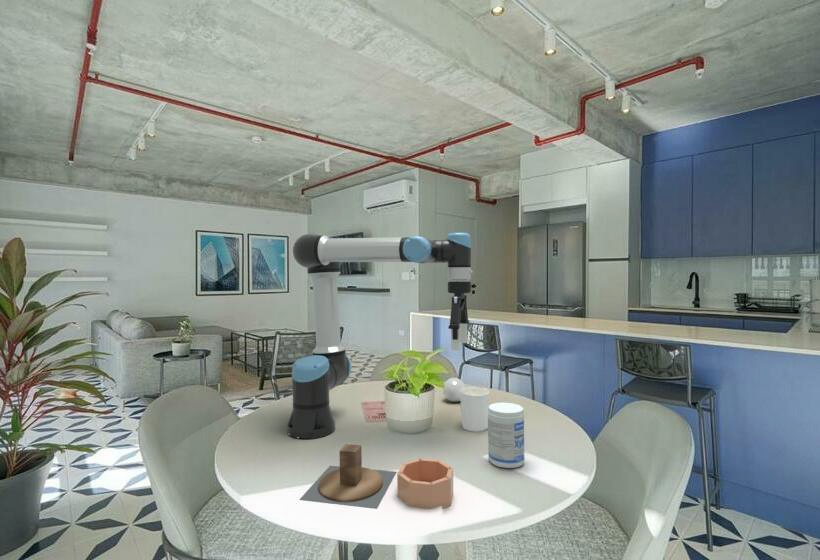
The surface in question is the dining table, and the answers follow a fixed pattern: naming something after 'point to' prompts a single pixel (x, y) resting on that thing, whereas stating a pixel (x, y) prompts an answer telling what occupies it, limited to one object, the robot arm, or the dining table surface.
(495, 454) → the supplement tub
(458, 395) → the potion bottle
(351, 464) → the lid
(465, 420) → the candle holder
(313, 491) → the mat
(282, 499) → the dining table surface
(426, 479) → the bowl
